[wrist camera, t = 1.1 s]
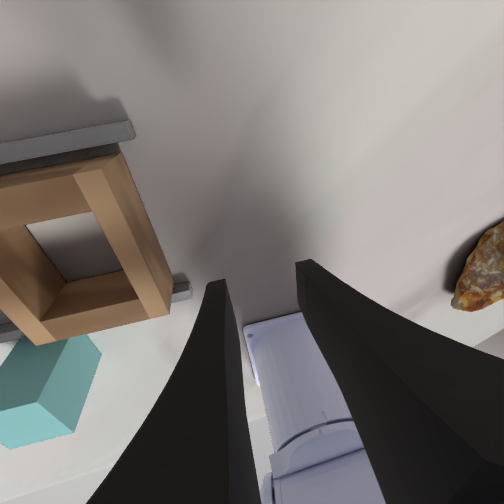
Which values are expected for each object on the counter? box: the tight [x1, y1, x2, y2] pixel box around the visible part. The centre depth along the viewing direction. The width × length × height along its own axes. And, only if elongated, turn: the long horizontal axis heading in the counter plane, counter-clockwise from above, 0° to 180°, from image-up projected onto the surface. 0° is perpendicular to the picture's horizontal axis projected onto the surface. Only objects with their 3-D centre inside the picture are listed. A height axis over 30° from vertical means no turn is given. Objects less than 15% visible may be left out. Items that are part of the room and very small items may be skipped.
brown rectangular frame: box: [0, 152, 174, 346], centre depth 15 cm, size 9×8×4 cm
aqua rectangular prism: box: [0, 334, 102, 449], centre depth 18 cm, size 4×4×6 cm
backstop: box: [0, 120, 192, 343], centre depth 15 cm, size 12×16×4 cm
